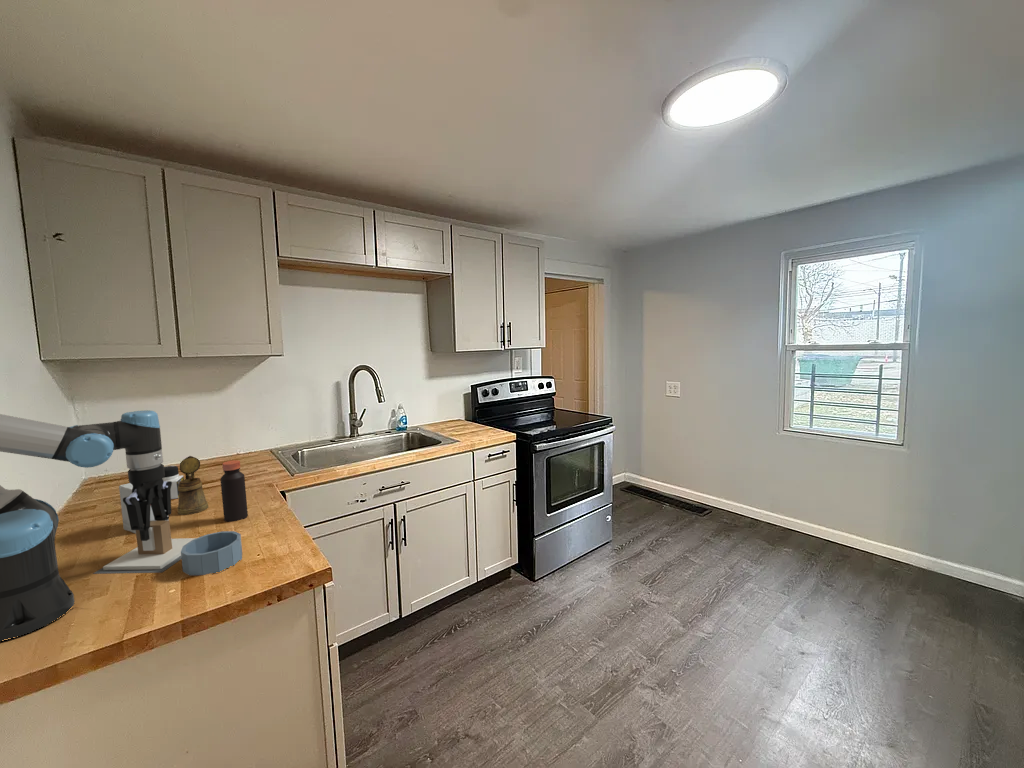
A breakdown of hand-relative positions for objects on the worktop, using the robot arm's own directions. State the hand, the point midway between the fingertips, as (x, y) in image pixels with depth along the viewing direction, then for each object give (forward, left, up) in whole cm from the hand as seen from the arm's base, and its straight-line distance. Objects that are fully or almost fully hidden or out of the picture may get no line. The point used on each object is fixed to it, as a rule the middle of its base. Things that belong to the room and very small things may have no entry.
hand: (155, 546), depth 116 cm
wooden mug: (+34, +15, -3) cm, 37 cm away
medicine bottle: (+45, +32, -3) cm, 55 cm away
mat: (0, 0, -3) cm, 3 cm away
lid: (0, 0, -3) cm, 3 cm away
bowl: (-4, -19, -3) cm, 20 cm away
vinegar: (+24, -7, -3) cm, 25 cm away
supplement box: (+19, +19, -3) cm, 27 cm away
